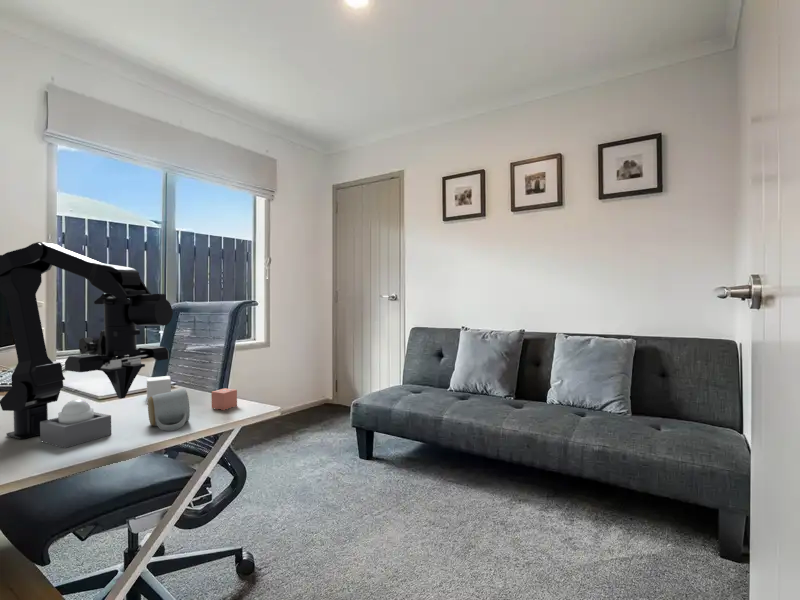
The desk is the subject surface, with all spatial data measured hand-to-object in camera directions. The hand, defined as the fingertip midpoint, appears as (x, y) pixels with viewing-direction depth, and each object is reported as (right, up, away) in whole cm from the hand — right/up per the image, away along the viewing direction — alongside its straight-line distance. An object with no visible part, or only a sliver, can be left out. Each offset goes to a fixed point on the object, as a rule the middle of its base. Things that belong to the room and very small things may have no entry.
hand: (121, 398), depth 92 cm
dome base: (-9, -9, 0) cm, 13 cm away
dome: (-9, -5, 0) cm, 11 cm away
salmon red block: (+12, -8, +24) cm, 28 cm away
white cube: (-11, -8, +34) cm, 37 cm away
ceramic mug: (+6, -9, +9) cm, 14 cm away
